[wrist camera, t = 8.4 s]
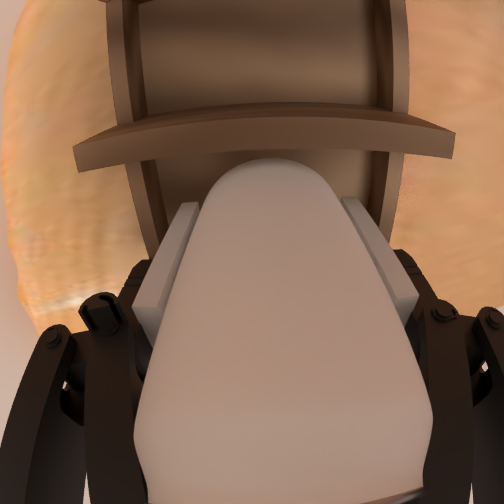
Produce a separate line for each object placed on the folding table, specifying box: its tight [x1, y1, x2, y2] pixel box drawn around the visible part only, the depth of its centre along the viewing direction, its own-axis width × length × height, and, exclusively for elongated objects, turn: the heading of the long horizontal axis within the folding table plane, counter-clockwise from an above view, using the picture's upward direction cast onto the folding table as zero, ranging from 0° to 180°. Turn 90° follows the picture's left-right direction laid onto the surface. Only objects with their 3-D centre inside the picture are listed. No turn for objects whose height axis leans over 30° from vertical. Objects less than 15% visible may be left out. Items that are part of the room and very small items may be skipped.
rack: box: [72, 0, 456, 260], centre depth 13 cm, size 20×16×8 cm
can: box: [134, 158, 433, 504], centre depth 8 cm, size 6×6×12 cm
